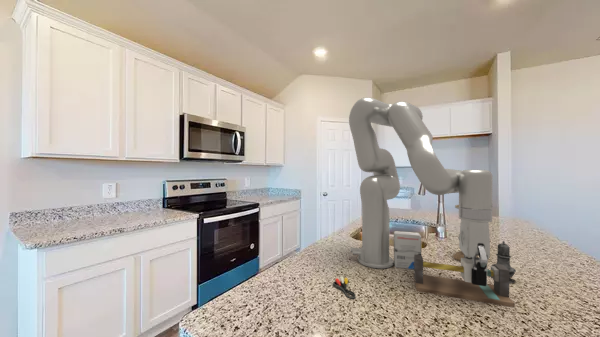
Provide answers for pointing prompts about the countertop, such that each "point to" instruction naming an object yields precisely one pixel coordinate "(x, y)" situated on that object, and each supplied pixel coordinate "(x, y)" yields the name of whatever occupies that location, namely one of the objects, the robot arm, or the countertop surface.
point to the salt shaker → (505, 259)
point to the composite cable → (343, 286)
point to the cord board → (463, 283)
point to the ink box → (406, 248)
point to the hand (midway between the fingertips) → (474, 278)
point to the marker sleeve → (467, 269)
